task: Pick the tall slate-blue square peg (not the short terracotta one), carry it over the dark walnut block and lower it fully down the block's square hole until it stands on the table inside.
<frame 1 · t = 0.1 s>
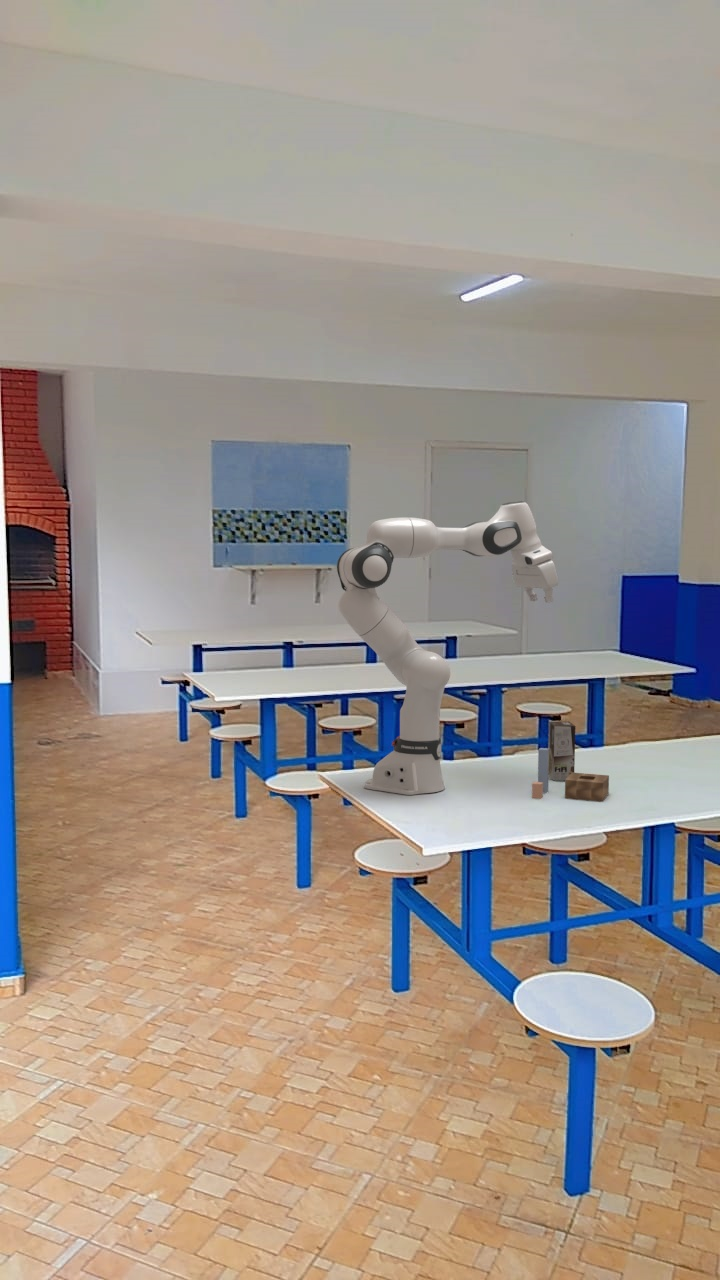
hand: (541, 601, 289), 52 cm above the table, tool tilted 20°, fingers open, 8 cm apart
long peg: (543, 791, 278), on the table
coffee box: (561, 778, 296), on the table
hole block: (586, 795, 273), on the table
short peg: (537, 797, 271), on the table
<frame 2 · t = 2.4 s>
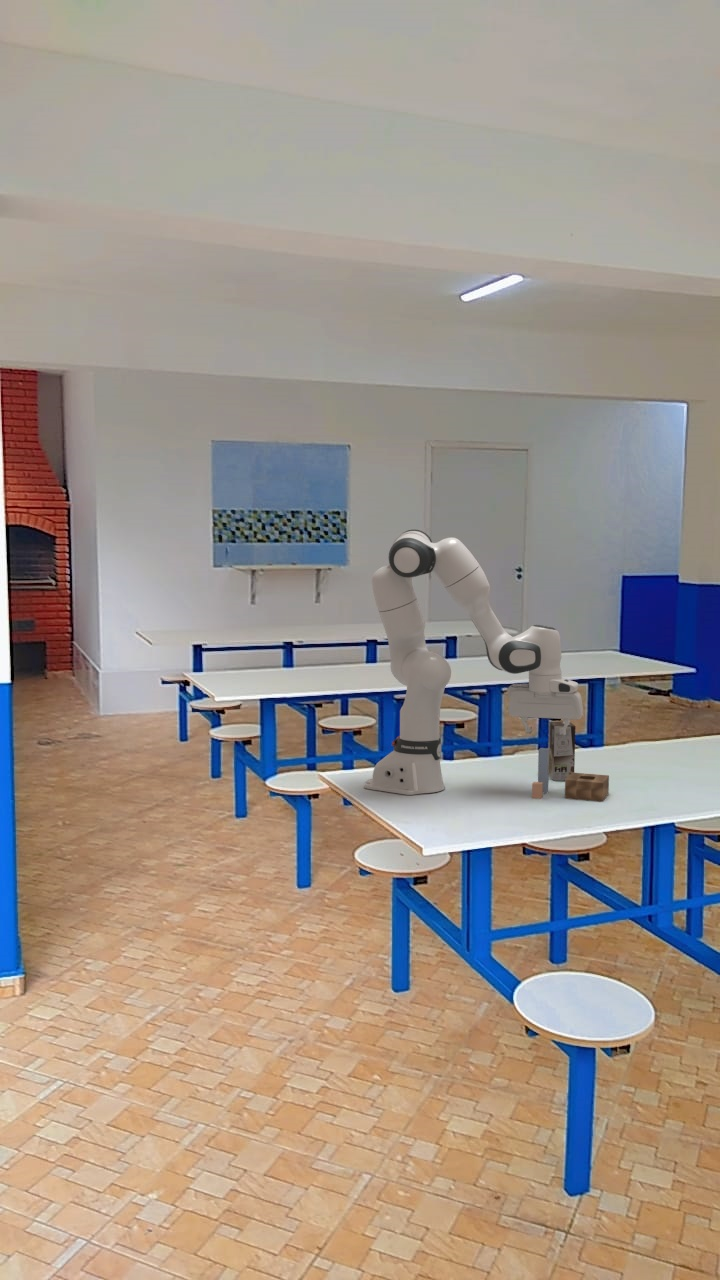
hand: (545, 734, 276), 16 cm above the table, tool pointing down, fingers open, 8 cm apart
nothing on the table moved.
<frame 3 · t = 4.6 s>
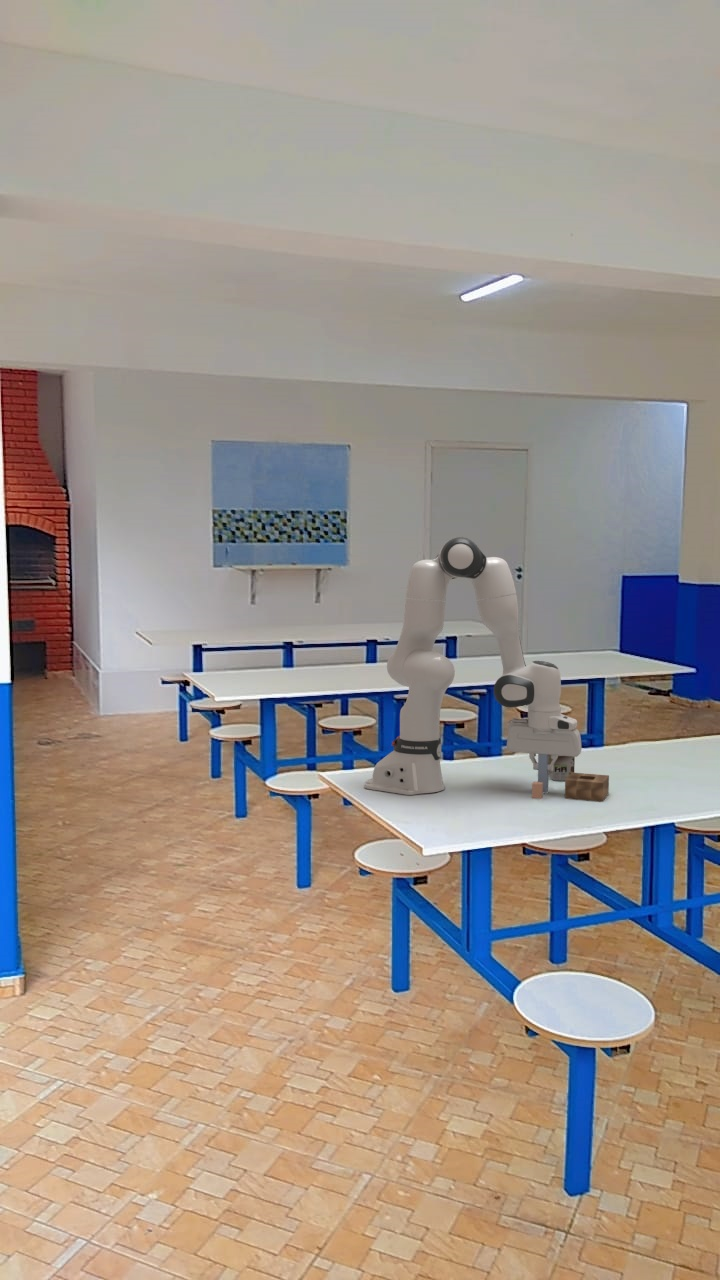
hand: (543, 770, 277), 6 cm above the table, tool pointing down, fingers closed on long peg, 2 cm apart
long peg: (543, 791, 278), on the table, touching gripper
everything else where it was.
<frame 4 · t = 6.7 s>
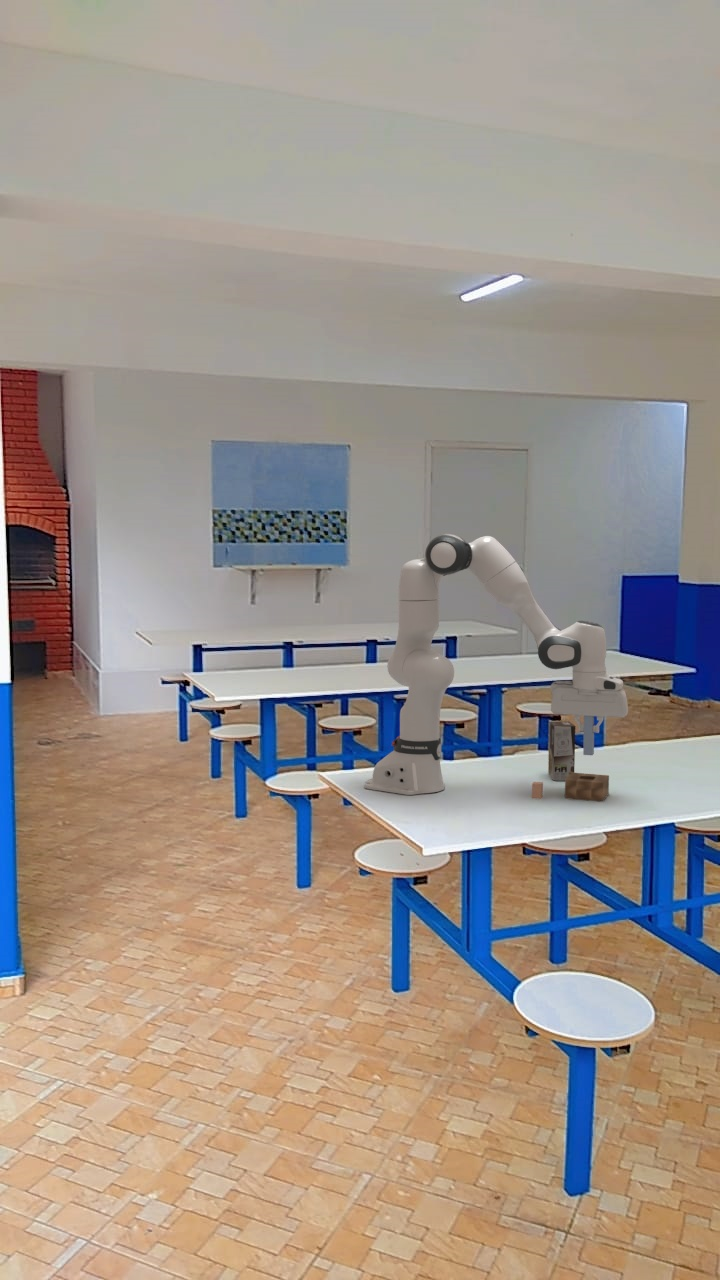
hand: (588, 732, 272), 17 cm above the table, tool pointing down, fingers closed on long peg, 2 cm apart
long peg: (588, 754, 272), point 11 cm above the table, touching gripper
everything else where it was.
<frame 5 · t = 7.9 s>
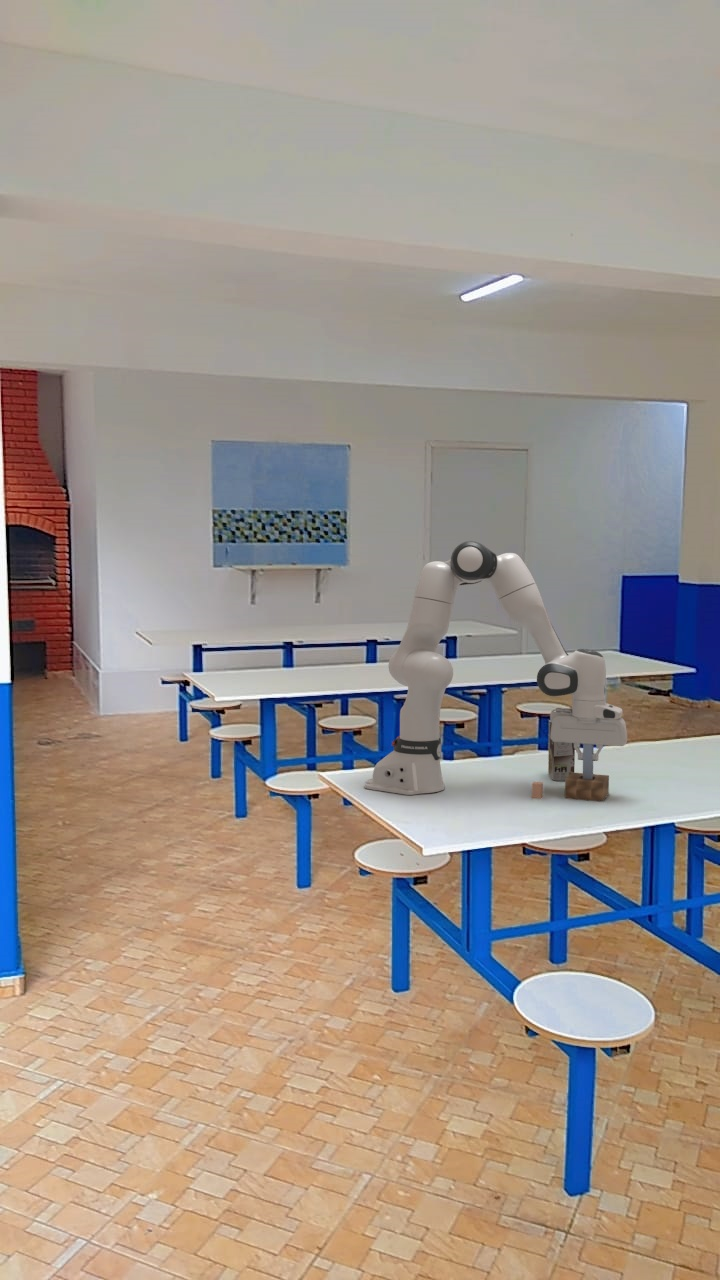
hand: (588, 760, 272), 10 cm above the table, tool pointing down, fingers closed on long peg, 2 cm apart
long peg: (587, 782, 273), point 4 cm above the table, touching gripper
everything else where it was.
when the fingers open (8 cm above the table, at t = 8.9 s): long peg drops 1 cm, resting in hole block.
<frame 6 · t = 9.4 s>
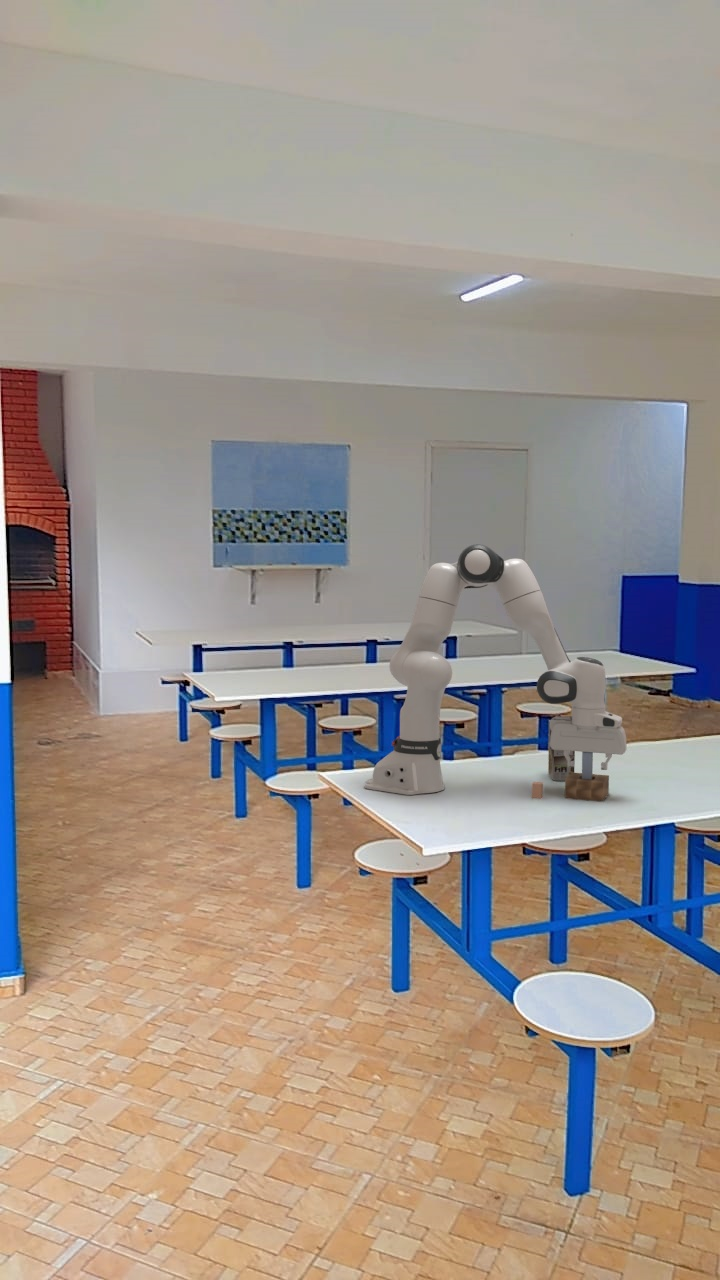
hand: (587, 768, 272), 8 cm above the table, tool pointing down, fingers open, 8 cm apart
long peg: (586, 795, 273), resting in hole block
everything else where it was.
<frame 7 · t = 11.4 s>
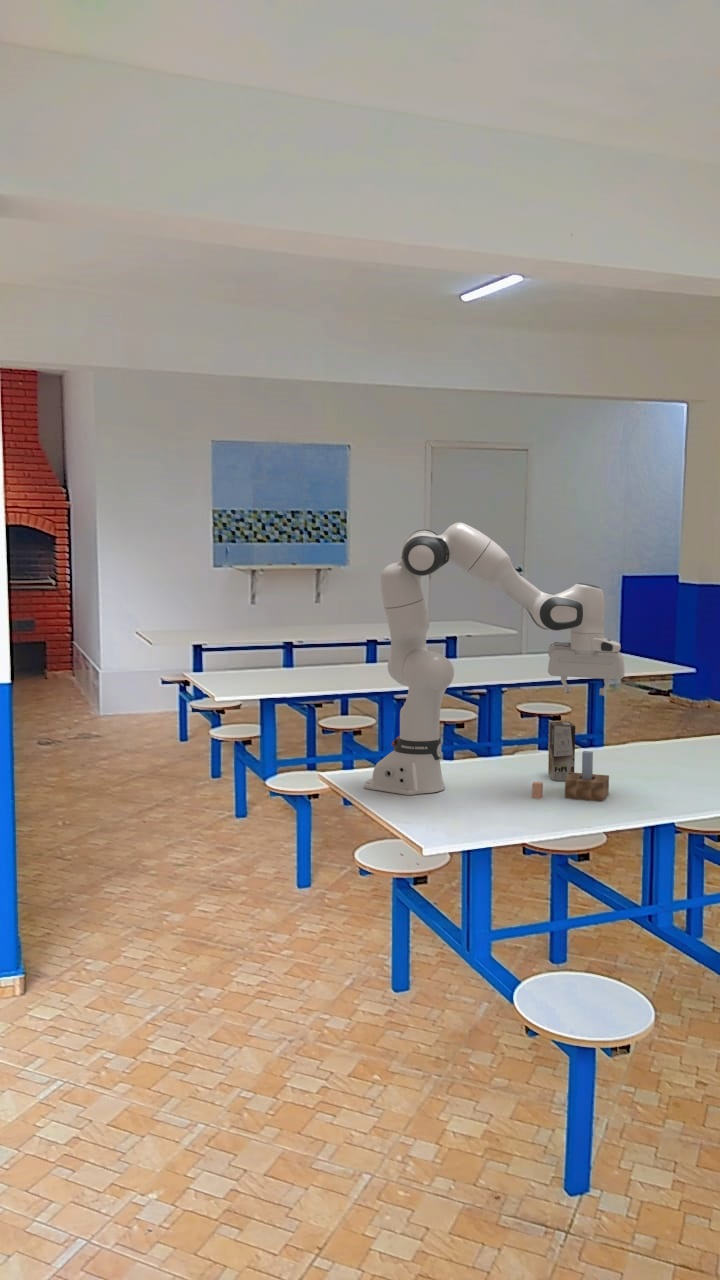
hand: (585, 694, 273), 27 cm above the table, tool pointing down, fingers open, 8 cm apart
nothing on the table moved.
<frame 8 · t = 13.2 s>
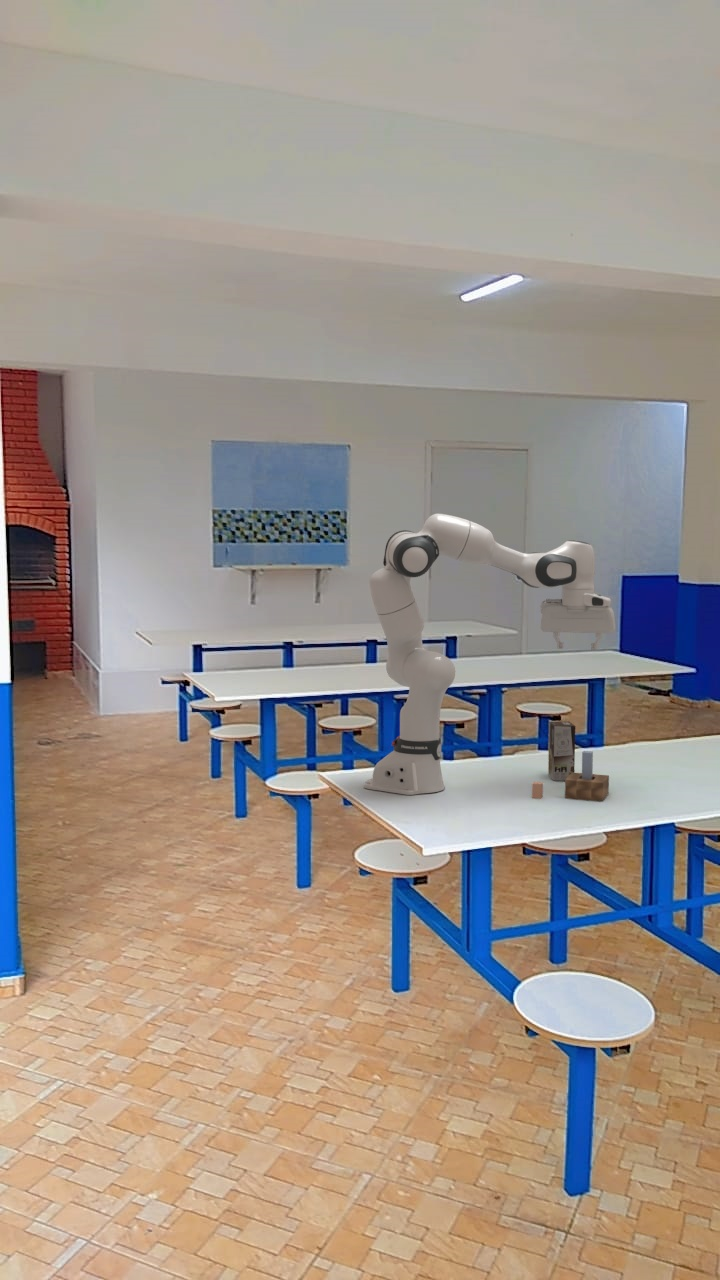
hand: (577, 649, 280), 39 cm above the table, tool pointing down, fingers open, 8 cm apart
nothing on the table moved.
at the end: long peg 0.2 cm off-centre on the hole block, point 0.0 cm above the hole block's base; long peg tilted 0°; the gripper is holding nothing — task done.
